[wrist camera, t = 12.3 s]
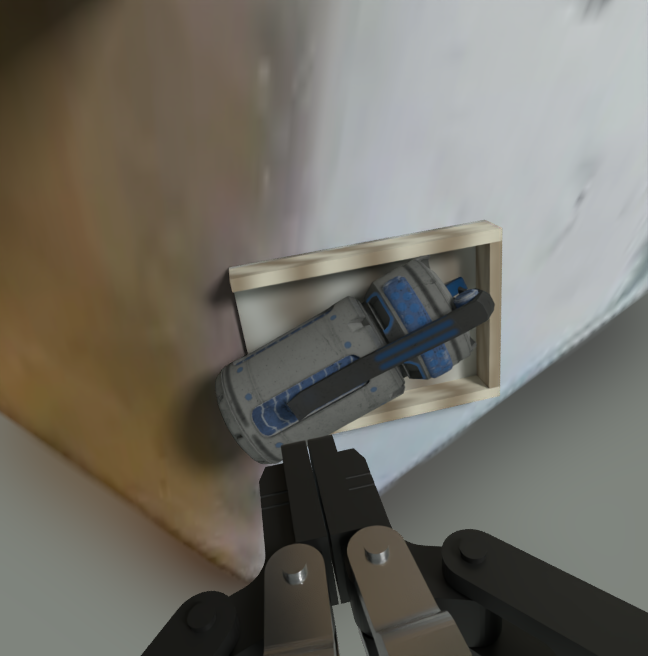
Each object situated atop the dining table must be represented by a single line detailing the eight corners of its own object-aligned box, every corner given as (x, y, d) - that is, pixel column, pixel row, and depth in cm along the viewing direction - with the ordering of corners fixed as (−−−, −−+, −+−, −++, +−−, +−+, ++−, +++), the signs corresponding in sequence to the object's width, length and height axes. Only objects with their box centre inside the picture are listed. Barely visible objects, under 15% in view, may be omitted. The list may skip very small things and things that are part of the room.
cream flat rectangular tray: (264, 428, 56) (267, 448, 52) (228, 267, 48) (229, 279, 45) (484, 379, 58) (499, 395, 55) (484, 219, 51) (502, 227, 47)
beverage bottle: (190, 401, 40) (477, 237, 38) (221, 360, 53) (436, 236, 51) (258, 505, 42) (536, 353, 40) (272, 441, 55) (483, 324, 53)
